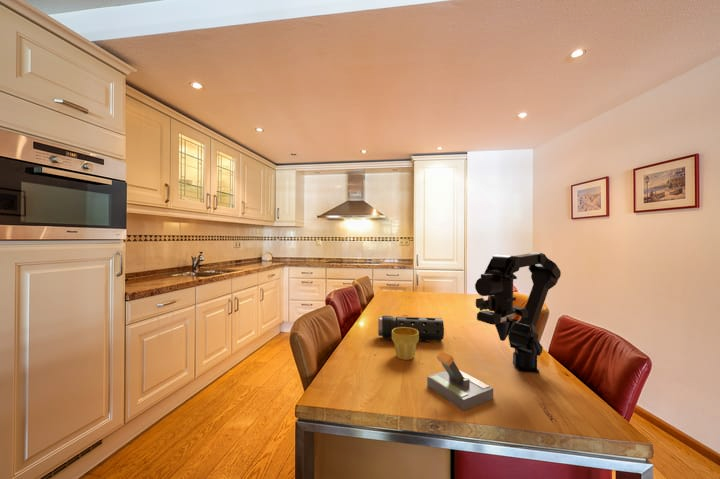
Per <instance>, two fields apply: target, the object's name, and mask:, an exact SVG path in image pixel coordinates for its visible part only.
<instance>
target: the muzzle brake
mask: <svg viewBox="0 0 720 479" xmlns="http://www.w3.org/2000/svg"><path fill="white" fill-rule="evenodd" d="M377 322H378V325H377V327H378V328H377V329H378V331H377V334H378V336H379V337H382V338H383V339H386V338H387V339H392V330H393V329H394V328H398V327H409V328H414V329H416V330H418V332H419V341H428V342H429V341H430V342H431V341H432V342H433V341H434V342H442V341H443V339H444V337H445V326H444V319H443V318H442V317H439V318H438V317H414V316H413V317H411V316H396V317H394V316H393V315H382V316H378V320H377Z"/></svg>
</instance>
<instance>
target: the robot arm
mask: <svg viewBox="0 0 720 479" xmlns="http://www.w3.org/2000/svg"><path fill="white" fill-rule="evenodd" d="M524 267H528V270H529V272H530V273H531V274H530V279H531V281H532V287H531V290H530V292H529V295H528V299H527V301H526V304H525V306H524V307H520V306H517V305H514V301H516V300H517V297H516V296H514V280H517V279H518V276H516V275H515V273H517V272H519V271H520V269H521V268H524ZM561 275H562V272H561V269H560V268H559V267H558V265H557V264H556V263H555V262H554V261H553V260H551V259H550V258H548V257H547V256H546V254H544V253H543V252H533V251H532V252H529V253H524V254H518V255H517V254H516V255H505V254H504V255H503V254H494V255H493V256H492V257H491V259H490V261H489V263H488V265H487V267H486V268H485V271H484V273H481V274H480V278H478V279H476V282H475V284H474V288H475V291H476V292H477V294H478V295H479V296H481V297H480V298H476V299H475V307H476V308H477V309H479V311H478V312H477V313H476V320H477V321H478V322H482V323H486V324H488V325H493V326H495V328H496V331H497V334H498V337H499V340H500V341H502V342H505V341H506V340H507V338H508V341H509V345H510V346H509V347H510V348H512V349H514V352H513V353H512V364H513V365H514V367H515V368H517V370H518V371H519V372H527V373H528V372H529V373H540V369H538V356H541V354H542V353H543V349H544V347H543V346H542V344H541V343H540V340H538V339H539V332H538V329H537V325H538V322H539V318H540V316H541V313H542V310H543V307H544V304H545V302H546V298H547V296H548V293H549V290H551V289H552V288H553V287H555V286H556V285H557V284H558V281H559V279H560V278H561ZM488 296H489V299H486V300H485V299H484V298H482V297H488ZM516 315H518V316H520V317H521V318H520V320H518V319H514V316H516Z"/></svg>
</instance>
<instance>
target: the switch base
mask: <svg viewBox="0 0 720 479" xmlns="http://www.w3.org/2000/svg"><path fill="white" fill-rule="evenodd" d="M459 371H460V372H461V374H462V376H463V377H464V379H463V384H462V385H460V384H459V383H457V382H455V381H454V380H452V379H451V378H450V376H449V374H448V373H447V371H446V370H443V371H441V372H436V373H434V374H431V375H427V378H426V381H427V383H426V384H427V387H428V388H429V389H430V390H432V391H434V392H435V393H437V394H438V395H440V396H441V397H443V398H444V399H445V400H446V401H448V402H450V403H451V404H453V405H455V406H456V407H457V408H459V409H460V410H462V411H463V412H465V411H467V410H470V409H472V408H474V407H476V406H479V405H482V404H484V403H487V402H488V401H491V400H493V399H494V388H493V387H492V386H491V385H488V384H486V383H484V382H482V381H480V380H479V379H477V378H475V377H473V376H472V375H469V374H468V373H466V372H464V371H462V370H460V369H459Z"/></svg>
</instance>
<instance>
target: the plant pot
mask: <svg viewBox="0 0 720 479" xmlns="http://www.w3.org/2000/svg"><path fill="white" fill-rule="evenodd" d="M391 340H392V342H393V345H394V349H395V354H396V357H397V358H398V359H400V360H405V361H409V360H412V359H414V358H415V355H416V354H415V353H416V349H417V345H418V342H419V341H420V340H419V332H418V330H416V329H414V328H409V327H398V328H394V329H393V330H392V338H391Z"/></svg>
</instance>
